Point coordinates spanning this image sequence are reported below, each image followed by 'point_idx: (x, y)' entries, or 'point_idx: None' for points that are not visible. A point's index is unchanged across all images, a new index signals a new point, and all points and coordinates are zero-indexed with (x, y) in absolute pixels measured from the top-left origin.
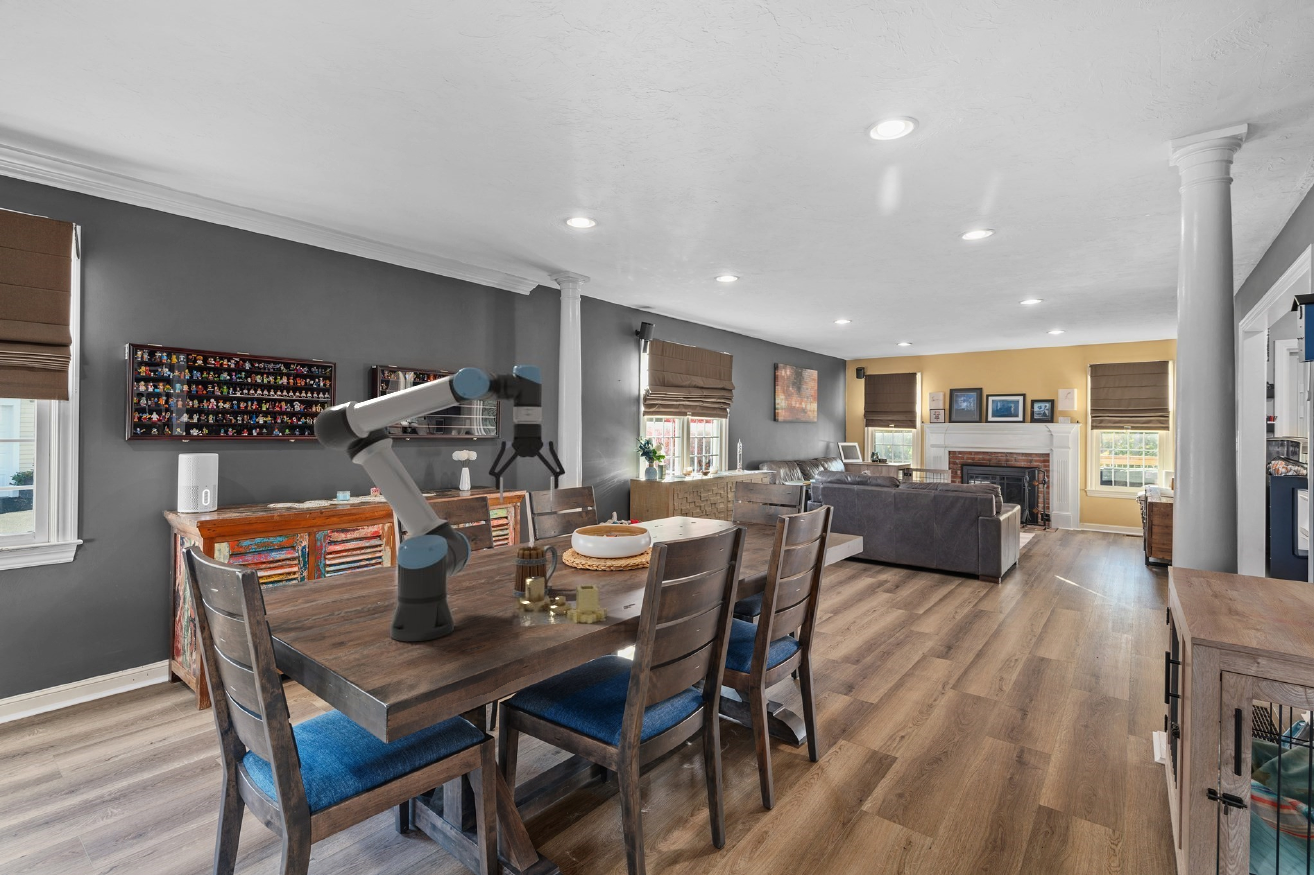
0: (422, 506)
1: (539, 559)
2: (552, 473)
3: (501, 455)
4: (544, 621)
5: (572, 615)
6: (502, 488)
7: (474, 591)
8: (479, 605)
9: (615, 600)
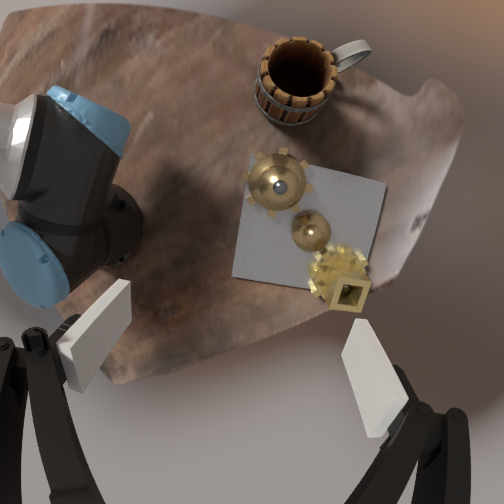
0: None
1: (313, 107)
2: (378, 453)
3: (14, 487)
4: (271, 268)
5: (313, 283)
6: (104, 357)
7: (196, 22)
8: (189, 109)
9: (418, 180)
